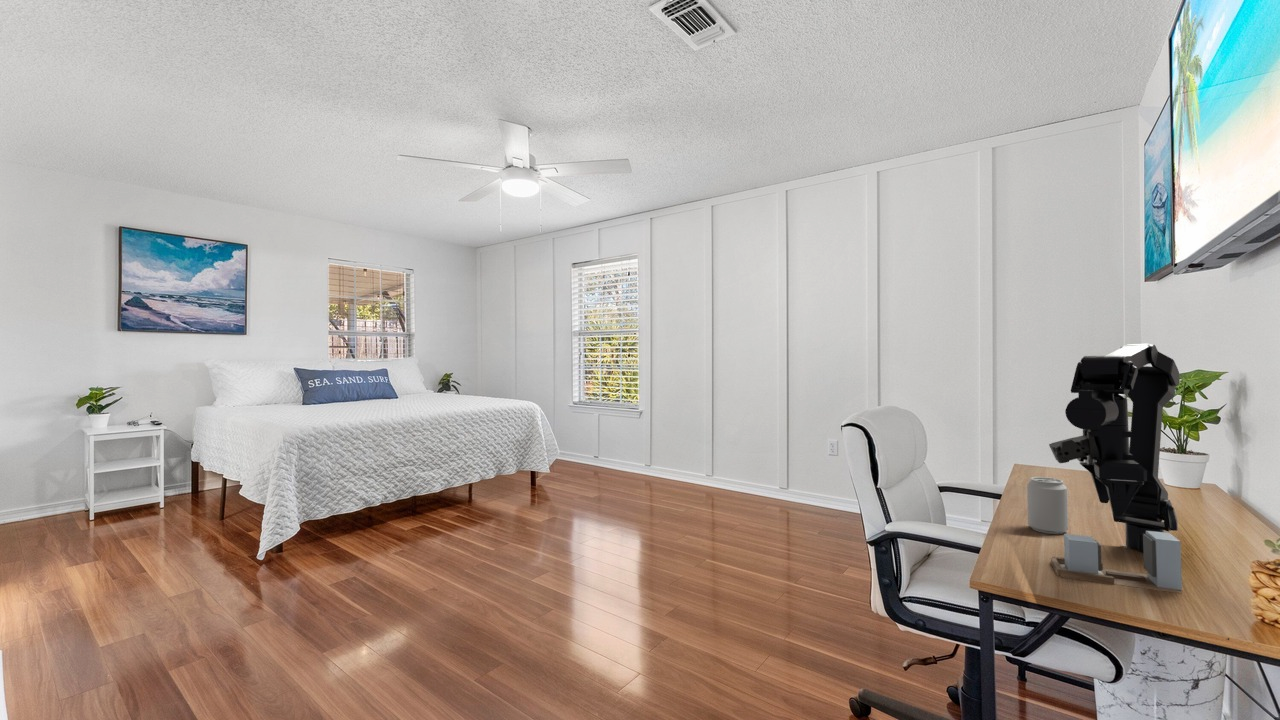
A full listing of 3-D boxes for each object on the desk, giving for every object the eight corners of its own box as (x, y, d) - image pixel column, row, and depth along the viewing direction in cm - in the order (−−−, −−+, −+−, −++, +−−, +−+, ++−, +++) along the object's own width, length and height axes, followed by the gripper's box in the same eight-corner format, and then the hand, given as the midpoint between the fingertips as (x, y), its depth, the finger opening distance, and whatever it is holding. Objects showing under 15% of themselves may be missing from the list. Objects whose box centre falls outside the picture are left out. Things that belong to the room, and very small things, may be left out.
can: (1029, 523, 131) (1028, 474, 131) (1068, 529, 126) (1067, 477, 126) (1026, 531, 125) (1025, 479, 125) (1068, 537, 121) (1066, 483, 121)
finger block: (1064, 566, 100) (1063, 533, 100) (1096, 570, 98) (1095, 536, 98) (1069, 573, 96) (1068, 539, 96) (1102, 577, 94) (1101, 543, 94)
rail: (1050, 569, 102) (1049, 556, 102) (1163, 584, 95) (1162, 570, 95) (1058, 584, 95) (1058, 570, 95) (1181, 602, 88) (1181, 586, 88)
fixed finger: (1143, 576, 95) (1142, 530, 95) (1170, 579, 93) (1168, 532, 93) (1153, 586, 90) (1152, 538, 90) (1181, 590, 89) (1180, 541, 89)
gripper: (1044, 417, 111) (1047, 493, 111) (1061, 429, 94) (1065, 518, 95) (1115, 418, 105) (1117, 498, 105) (1146, 431, 89) (1149, 526, 89)
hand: (1110, 509), depth 99 cm, fingers open, 9 cm apart
